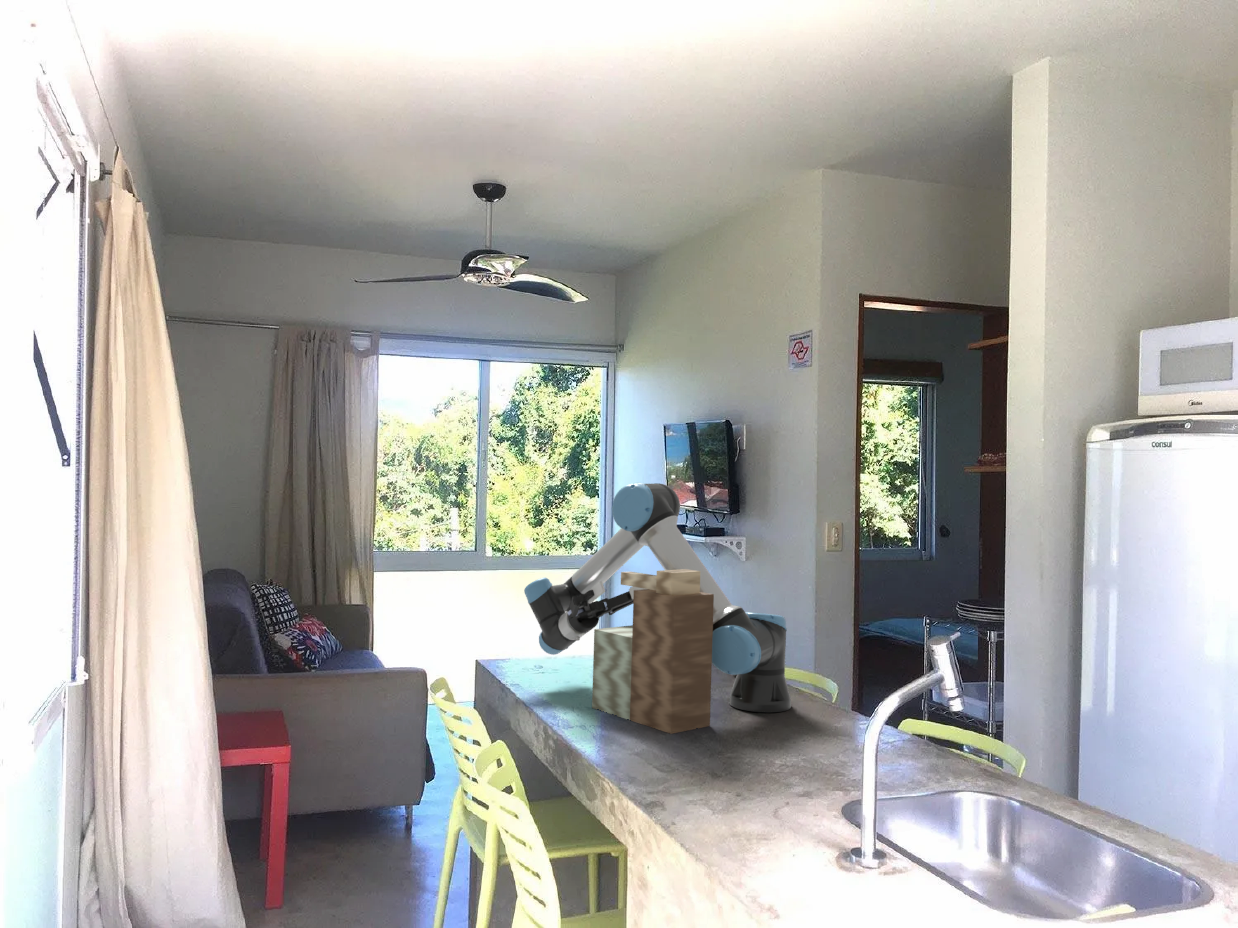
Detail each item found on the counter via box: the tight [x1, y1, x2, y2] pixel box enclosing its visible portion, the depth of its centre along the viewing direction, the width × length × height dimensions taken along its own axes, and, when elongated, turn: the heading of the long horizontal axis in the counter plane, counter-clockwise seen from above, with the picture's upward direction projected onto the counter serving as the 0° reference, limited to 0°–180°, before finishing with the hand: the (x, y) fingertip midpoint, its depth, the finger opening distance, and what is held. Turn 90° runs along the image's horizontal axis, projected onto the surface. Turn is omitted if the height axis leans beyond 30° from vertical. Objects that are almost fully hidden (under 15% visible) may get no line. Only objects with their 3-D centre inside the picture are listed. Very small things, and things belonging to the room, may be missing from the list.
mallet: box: [620, 569, 700, 595], centre depth 234 cm, size 21×9×5 cm, turn 40°
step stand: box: [591, 589, 714, 735], centre depth 235 cm, size 28×12×30 cm, turn 40°
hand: (624, 584), depth 242 cm, fingers open, 13 cm apart
